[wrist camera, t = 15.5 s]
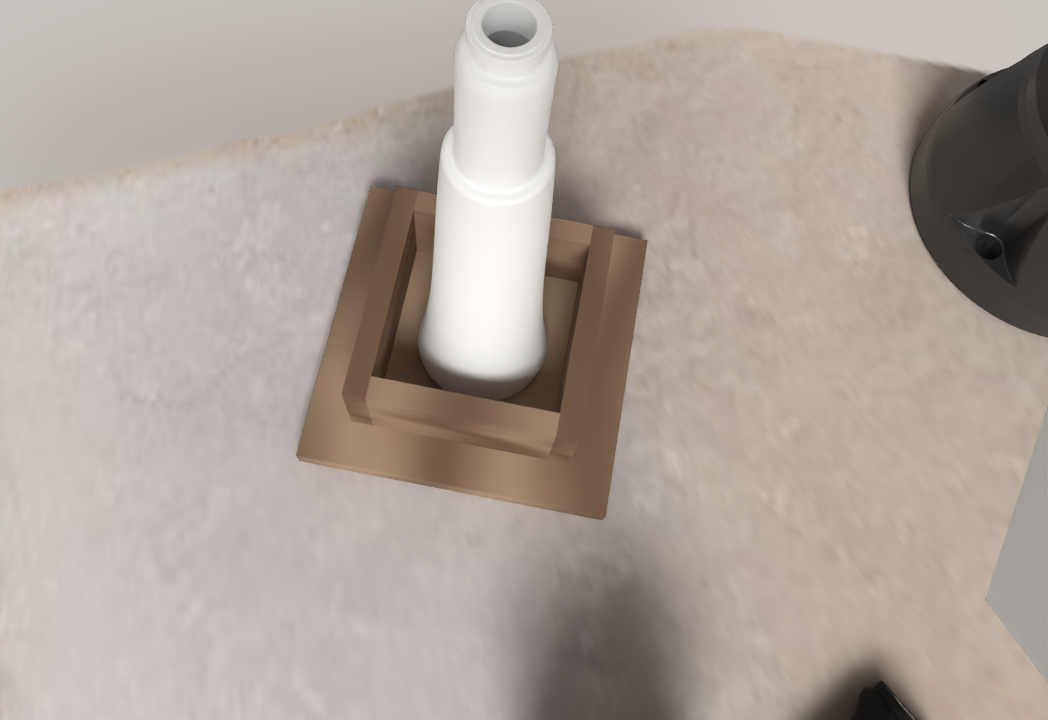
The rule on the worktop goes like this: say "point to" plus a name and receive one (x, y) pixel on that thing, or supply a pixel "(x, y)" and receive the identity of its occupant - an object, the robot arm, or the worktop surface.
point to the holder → (462, 420)
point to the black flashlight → (881, 705)
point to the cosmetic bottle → (493, 206)
